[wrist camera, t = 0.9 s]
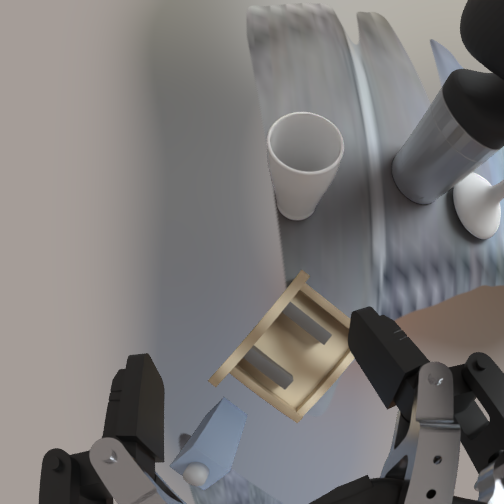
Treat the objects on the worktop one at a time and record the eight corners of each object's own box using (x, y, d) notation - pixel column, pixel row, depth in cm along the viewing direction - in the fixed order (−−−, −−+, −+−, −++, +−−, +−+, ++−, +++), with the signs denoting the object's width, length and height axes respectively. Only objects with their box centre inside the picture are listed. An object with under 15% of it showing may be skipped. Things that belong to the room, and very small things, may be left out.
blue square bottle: (224, 396, 32) (187, 453, 17) (247, 414, 31) (226, 480, 16) (206, 415, 31) (163, 474, 16) (229, 432, 31) (199, 499, 15)
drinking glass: (283, 173, 37) (283, 101, 22) (328, 191, 35) (354, 127, 21) (262, 214, 36) (252, 157, 21) (310, 235, 35) (331, 188, 20)
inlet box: (295, 278, 34) (301, 269, 25) (366, 334, 32) (393, 343, 23) (225, 362, 33) (207, 380, 24) (296, 415, 30) (301, 447, 22)
